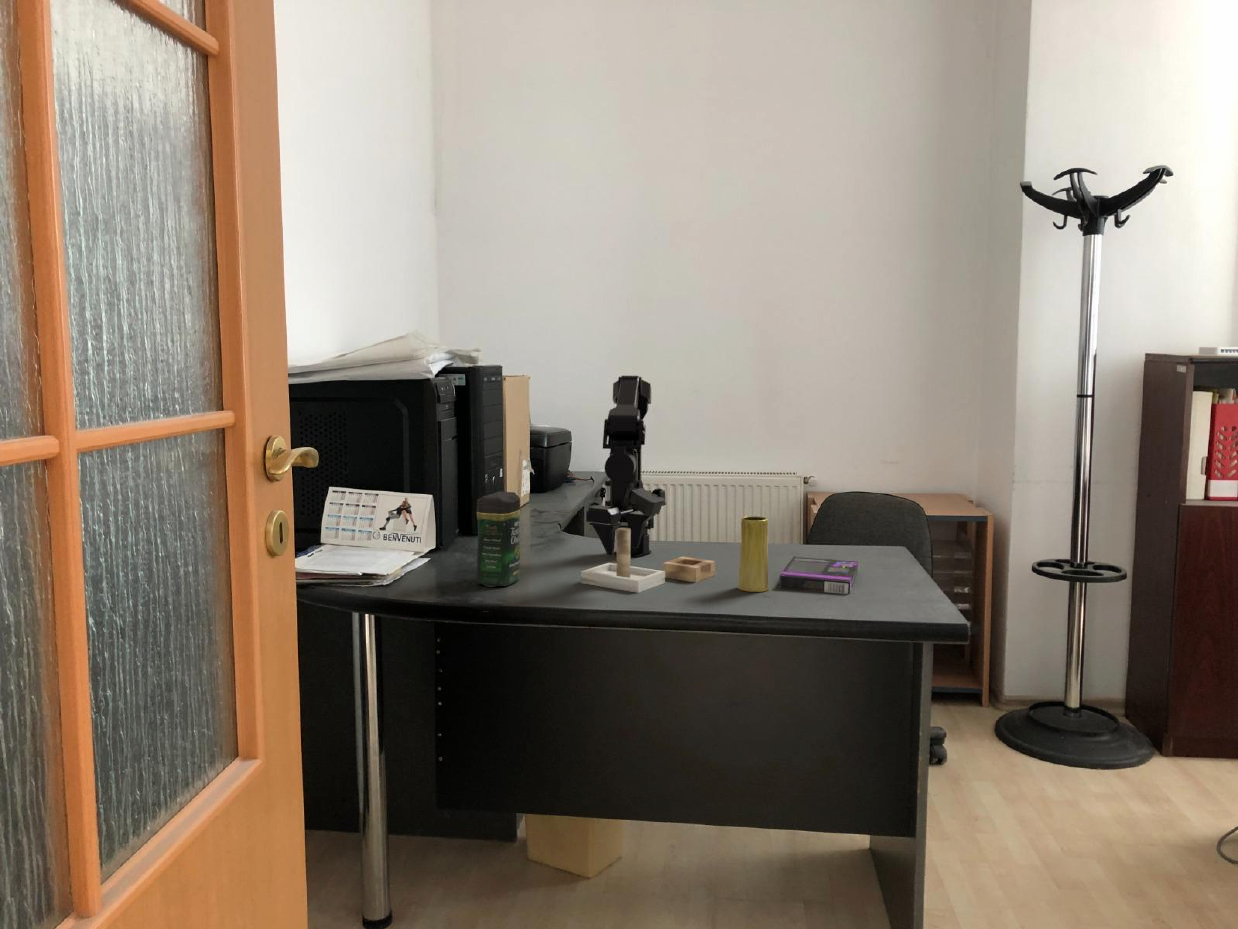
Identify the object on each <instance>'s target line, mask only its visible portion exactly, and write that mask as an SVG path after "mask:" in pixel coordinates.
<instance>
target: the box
mask: <svg viewBox="0 0 1238 929" xmlns="http://www.w3.org/2000/svg"><path fill="white" fill-rule="evenodd" d="M858 565H859V562H858V560H856V561H855V560H841V559H840V560H839V559H831V558H828V559H827V558H815V557H804V556H803V557H799V556H792V558H791V559H790V561H789V562H788V563H787V564H786V566H785V567H784V569H783V570H782V571H781V573H780V574H779V589H782V590H783V589H784V590H792V591H793V590H796V591H806V592H807V591H809V592H817V593H818V592H820V593H821V592H822V593H831V594H845V595H850V594H851V592H852V589H853V586H854V584H855V580H856V577H857V574H858V567H859V566H858Z"/></svg>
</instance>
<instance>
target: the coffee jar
mask: <svg viewBox="0 0 1238 929" xmlns="http://www.w3.org/2000/svg"><path fill="white" fill-rule="evenodd" d="M476 519H477V561H476V582H477V583H478V584H480V585H483V586H486V587H491V588H492V587H493V588H494V587H497V586H499V587H500V586H504V587H507V586H510V585H511V584H514V583H516V582H518V581H519V580H520V578H521V575H522V574H521V573H522V572H521V569H522V568H521V553H520V552H521V551H520V548H521V547H520V521H521V520H520V519H521V498H520V497H519V495H517V493H516V492H513V491H500V490H499V491H497V492H494V493H491V494H488V495H482V496H481V498H478V499H477V501H476Z"/></svg>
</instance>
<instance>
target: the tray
mask: <svg viewBox="0 0 1238 929" xmlns="http://www.w3.org/2000/svg"><path fill="white" fill-rule="evenodd" d="M616 572H617V563H613V562H607V563H604V564H600V565H597V566H594V567H591V568H588V569H584V570H582V571H580V584H585V585H591V586H597V587H602V588H608V589H614V590H621V591H626V592H631V593H637V594H639V593H641V592H645V591H647V590H649V589H652V588H655V587H657V586H660V585H663V584H665V583H666V578H665V571H663V570H658V569H653V568H645V567H640V566H639V567H638V566H633V565H630V578H626V577H620V576H616Z"/></svg>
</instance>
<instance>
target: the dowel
mask: <svg viewBox="0 0 1238 929" xmlns="http://www.w3.org/2000/svg"><path fill="white" fill-rule="evenodd" d="M630 544H631V529H630V528H617V530H616V551H617V554H616V564H617V572H616V576H620V577H626V578H630V566H631V556H630Z"/></svg>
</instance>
